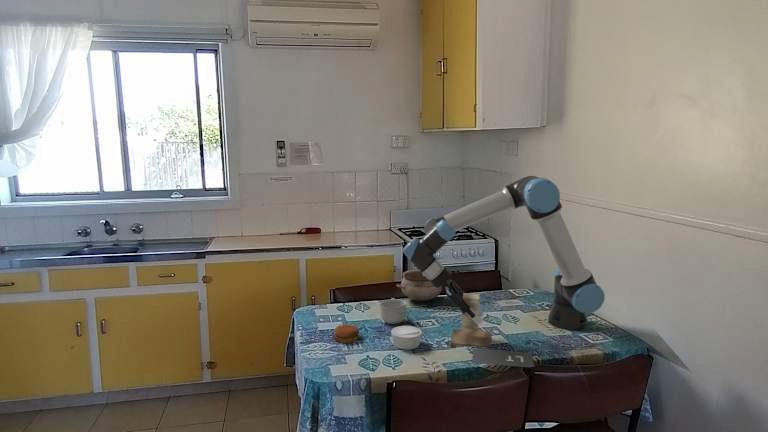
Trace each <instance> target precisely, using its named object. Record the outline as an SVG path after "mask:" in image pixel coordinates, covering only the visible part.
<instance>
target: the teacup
mask: <svg viewBox="0 0 768 432" xmlns="http://www.w3.org/2000/svg"><path fill="white" fill-rule="evenodd" d="M379 308H380V309H379V311H380V317H381V319H382V321H384V322H385V323H387V324H389V325H396V324H397V325H398V324H400V323H401V322H403V321H404V320H405V319H406V317H407V302H406V301H405V300H402V299H399V298H397V299H396V298H394V297H391V299H385V300H383V301H381V302H380V303H379Z"/></svg>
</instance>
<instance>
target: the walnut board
mask: <svg viewBox="0 0 768 432" xmlns="http://www.w3.org/2000/svg"><path fill="white" fill-rule="evenodd" d="M457 346H466V347H467V346H468V347H479V348H491V331H487V330H478V331H471V330H462V328H460V329H459V328H453V329H452V335H451V340H450V348H457Z"/></svg>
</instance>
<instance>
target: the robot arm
mask: <svg viewBox="0 0 768 432" xmlns="http://www.w3.org/2000/svg"><path fill="white" fill-rule="evenodd" d="M560 199H561V192H560V189H559V188H558V186H557V185H556V184H555V183H554V182H553V181H551V180H550V179H548V178H545V177H539V176H535V175H527V176H524V177H522V178H519V179H518V180H515V181H514V182H511V183H510V184H507V185H505V186H503V188H502V190H500V191H497V192H495V193H493V194H491V195H488V196H486V197H484V198H482V199H479V200H477V201H475V202H472V203H470V204H468V205H465V206H463V207H461V208H458V209H457V210H456V209H455V210H454V211H452V212H449V213H446V214H445V215H443V216H440V217H438V218H430V219H428V220H427V221H426V222H425V224H424V234H425V235H424V236H422V238H420V239H419V238H417V237H413V238H412V239H411V240H410V241H409V242H408V243H407V244H406V245H405V246H404V247H403V248H402V253H403V254H404V255H405V256H406V258H407V259H408V260H409V261H410V262H411V263H412V264H413V265H414V266H415V268H417V270H420V271H421V272H422V273H423V276H426V277H427V278H428V279H429V280H430V279H431V283H432V284H433V285H434V286H435V287H436V288H439V287H440V286H442V289H443V291H444V295H446V296H447V297H448V298H449V299H450V300H451V301H452V302H453V303H454V305H455V306H456V307H457V308H458V309H459V310H460V311H461V313H462V312H463V314H464V313H466V314H467V315H468V316H469V317H470V318H471V319H472V320H473V321H474V322H475V323H476V324H477V325H481V323H483V322H484V319H483V318H482V316H483V315H484V313H483V312H482V311H481V310H480V309H479V315H478V314H477V313H476V312H475V311H474V310H473V309H472V308H471V307H469V306H468V304H467V303H466V302H465V301H464V300H463V293H466V292H465V291H464V290H463V289H462V288H461V287H460V286H459V285H458V284H457V283H456V282H455V280H454V279H450V278H451V276H452V273H451V272H450V271H449V270H448V269H447V268H446V267H444V264H442V262H441V261H439V260H438V258H437V257H436V256H435V255H436V254H437V252H439V251H440V250H441V249H442V248H443V247H444V246H445V245H446V244H447V243H449V242H450V241H451V240H452V239H453V237H455V235H456V232H458V231H460V230H463V229H465V228H467V227H469V226H472V225H474V224H476V223H478V222H481V221H483V220H486V219H488V218H490V217H493V216H495V215H498V214H500V213H501V212H504V211H506V210H509V209H512V210H515V209H518V208H522V207H526V210H527V211H528V214H529V216H530V219H531V220H533V221H535V222H537V223H538V225H539V229H540V230H541V232H542V234H543V236H544V239H545V241H546V243H547V246H548V248H549V250H550V252H551V254H552V256H553V258H554V261H555V263H556V266H557V268H556V269H555V272H554V273H555V274H554V284H553V285H554V287H553V289H554V290H553V303H552V305H551V308H550V311H549V314H548V317H547V322H548V323H549V324H550V325H551V326H553V327H556V328H559V329H563V330H571V331H572V330H573V331H576V330H579V331H580V330H584V329H586V328H587V327H588V325H589V324H588V323H589V320H588V316H587V314H592V313H595V312H597V311H599V310H600V309H601V308H602V307H603V304H604V302H605V299H606V298H605V297H606V295H605V291H604V290H603V289H602V287H601V286H600V285H598V284H597V281H596V280H595V278H594V275H593V273H592V270H590V269H587V268H585V266H584V263H583V261H582V258H581V256H580V254H579V252H578V250H577V248H576V245H575V243H574V240H573V239H572V235H571V234H570V231H569V229H568V227H567V225H566V223H565V220H564V218H563V216H562V213H561V211H562V209H563V205H562V204H561V203H562V202H561V200H560Z"/></svg>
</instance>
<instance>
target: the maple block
mask: <svg viewBox="0 0 768 432" xmlns="http://www.w3.org/2000/svg"><path fill="white" fill-rule="evenodd" d="M480 298H481V297H480V293H467V292H465V293H463V300H464V301H465V302H466V303H467V304H468V306H469V307H471V308H472V309H473V310H474V311H475V312H476V313H477V314H478V315H479V310H480ZM479 325H480V324H479ZM479 325H477V324H476V323H475V322H474V321H473V320H472V319H471V318H470V317H469V316H468V315H467V314H466V313H464V314H463V312H462V311H461V329H462V330H471V331H479Z"/></svg>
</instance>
